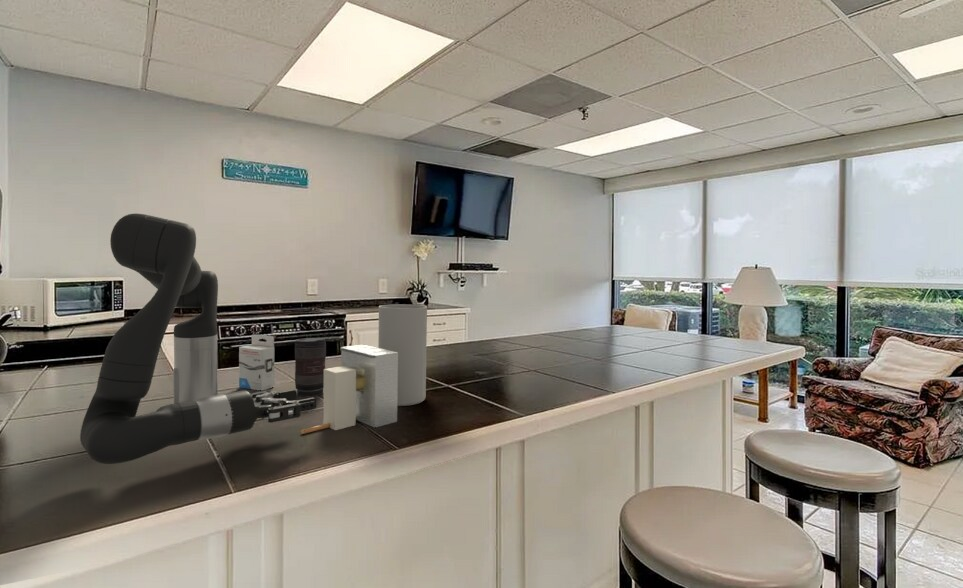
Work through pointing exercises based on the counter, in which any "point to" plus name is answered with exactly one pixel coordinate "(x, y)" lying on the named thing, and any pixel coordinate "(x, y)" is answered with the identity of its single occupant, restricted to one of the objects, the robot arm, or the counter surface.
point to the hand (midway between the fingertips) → (305, 398)
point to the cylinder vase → (406, 348)
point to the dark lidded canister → (310, 366)
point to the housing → (374, 383)
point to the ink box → (257, 364)
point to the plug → (339, 398)
